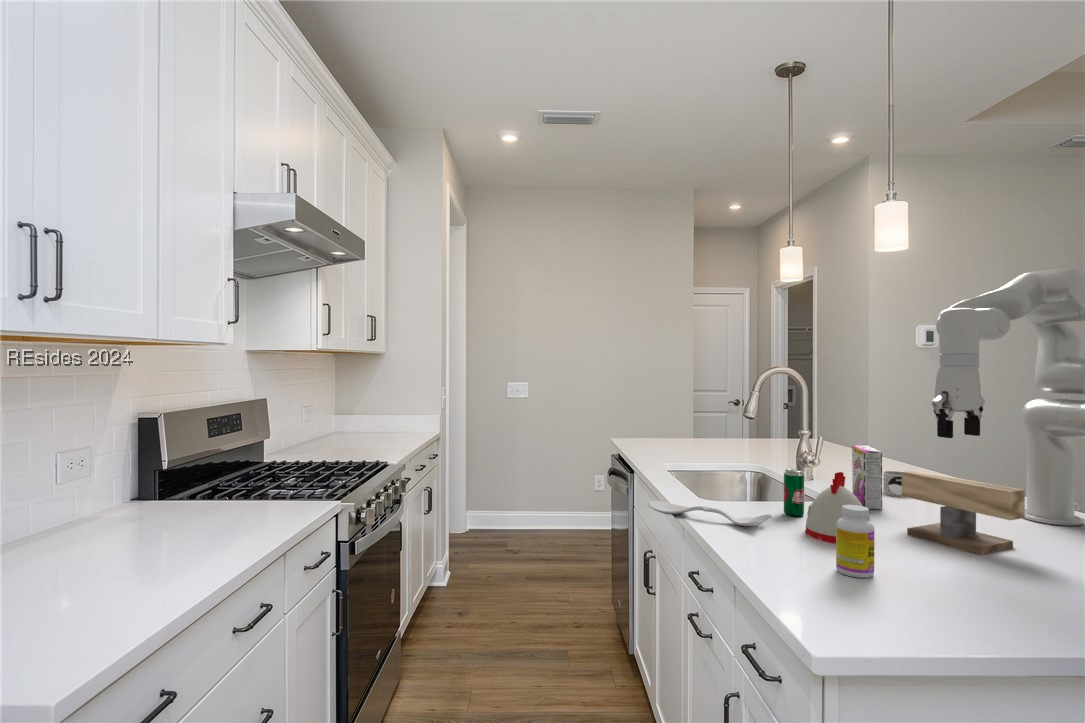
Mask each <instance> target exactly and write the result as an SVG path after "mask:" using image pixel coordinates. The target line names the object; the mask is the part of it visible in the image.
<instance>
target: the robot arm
mask: <svg viewBox="0 0 1085 723" xmlns="http://www.w3.org/2000/svg"><path fill="white" fill-rule="evenodd" d="M1024 317H1026V319H1027V321H1028V322H1029V324H1030V326H1031V327H1032V329H1033V330H1034V332H1035V334H1036V337H1037V352H1036V361H1035V371H1034V385H1035V388H1036V389H1037V390H1038V391H1040V392H1042V393H1046V394H1051V395H1065V396H1066V395H1067V396H1068V395H1069V396H1085V357H1081V346H1082V341H1081V340H1082V339H1081V338H1080V336H1079V335H1078V334H1077V332H1076V331H1075V330H1074V329H1073V328H1072V327H1071V326H1070V325H1068V324H1067V323H1070V322H1071V323H1073V322H1085V273H1084V272H1082V271H1081V270H1079V269H1076V268H1071V267H1065V268H1064V267H1063V268H1056V269H1055V268H1054V269H1053V268H1052V269H1045V270H1038V271H1030V272H1026V273H1023V274H1021V275H1018V276H1017V277H1015V278H1014V279H1013V280H1010V281H1009V282H1007V283H1006V284H1005V285H1003V286H1001V287H1000V288H998V289H995V290H993V291H988V292H986V293H983V294H981V295H977V296H973V297H970V298H968V299H964V300H962V301H959V302H957V303H955V304H952V305H951V306H949V308H947V309H944V310H942V311H941V312H940V313H939V316H938V318H937V320H936V323H935V330H936V333H937V334H938V336H939V338H938V339H939V341H938V342H939V345H938V346H939V348H938V349H939V354H938V356H939V358H938V359H939V361H938V362H939V367H938V369H937V373H936V377H935V378H936V379H935V386H934V399H932V401H931V405H932V408H933V413H934V415H935V419H936V421H937V422H936V423H937V425H936V428H937V429H936V430H937V431H936V433H937V437H938V438H944V439H945V438H946V439H952V438H954V420H952V418H953V416H954V414H955V413H956V412H957V413H958V412H960V413H961V412H962V413H964V415H965V417H964V418H963V419H964V420H963V424H964V425H963V426H964V427H963V428H964V429H963V430H964V431H963V433H964V435H966V436H973V437H974V436H975V437H979V436H980V435H981V419H982V417H983V415H982V413H983V411H984V405H985V402H986V400H985V398H984V397H982V396H981V395H982V394H981V392H982V390H981V380H980V372H979V369H980V342H981V341H982V342H983V341H995V340H999V339H1001V338H1003V337H1004V336H1006V335H1008V332H1009V331H1010V330H1011V322H1013V321H1017V320H1019V319H1022V318H1024ZM1021 412H1022V413H1021V415H1022V416H1021V418H1022V422H1023V423H1022V424H1023V427H1024V431H1025V437H1026V438H1025V439H1026V508H1025V518H1024V519H1026V520H1029V521H1032V522H1036V523H1042V524H1049V525H1056V526H1057V525H1058V526H1069V527H1070V526H1080V525H1083V518H1081V517H1080V516H1078V515H1075V511H1078V510H1080V508H1081V506H1080V504H1079V503H1077V502H1076V501H1075V499H1076V498H1075V495H1076V493H1075V489H1076V488H1075V485H1076V482H1075V481H1076V480H1075V479H1076V478H1075V476H1076V474H1075V470H1076V468H1075V467H1076V465H1075V464H1076V462H1075V461H1076V456H1075V452H1074V450H1073V448H1072V445H1070V444H1069V443H1068V441H1067V440H1066V438H1079V439H1085V399H1084V400H1082V399H1068V398H1067V399H1066V398H1047V397H1046V398H1045V397H1044V398H1043V397H1041V398H1035V399H1033V400H1029V401H1028V402H1026V403H1025V404H1024V406H1023V407H1022V411H1021Z"/></svg>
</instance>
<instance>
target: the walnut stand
mask: <svg viewBox="0 0 1085 723" xmlns="http://www.w3.org/2000/svg"><path fill="white" fill-rule="evenodd" d="M939 508H940V511H939V512H940V513H939V515H940V516H939V518H940V519H939V520H940V522H937V523H936V522H935V523H930V524H924V525H919V526H912V527H908V528H907V530H906V531H907V534H908V536H911V535H912V537H914V538H918V537H919V538H918V539H922V538H923V539H922V540H925V539H926V541H929V542H932V541H933V542H932V543H936V542H937V543H936V544H939V543H940V544H939V545H943V544H944V545H943V546H946V545H947V547H950V546H951V548H954V547H955V548H954V549H957V548H959V549H958V550H961V549H963V550H962V551H964V550H966V551H965V552H968V551H969V552H968V553H971V552H973V553H972V554H975V553H976V554H975V555H978V554H981V555H984V554H983V553H985V554H989V553H988V552H990V553H994V551H995V552H999V551H998V550H1000V551H1004V550H1009V549H1013V548H1014V540H1010V539H1006V538H1002V537H999V536H995V535H991V534H986V533H982V532H978V531H977V513H975V512H970V511H966V510H962V509H957V508H953V507H948V506H944V505H942V506H939ZM1008 548H1009V549H1008ZM1003 549H1004V550H1003Z"/></svg>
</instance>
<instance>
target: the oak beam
mask: <svg viewBox="0 0 1085 723" xmlns="http://www.w3.org/2000/svg"><path fill="white" fill-rule="evenodd" d="M901 472H902V496H903V498H907V499H908V498H909V499H911V500H912V499H913V500H918V501H923V502H925V503H930V504H935V505H940V506H948V507H953V508H957V509H962V510H966V511H970V512H975V513H976V514H980V515H985V516H989V517H994V518H999V519H1001V520H1002V519H1003V520H1006V521H1015V520H1022V519H1025V509H1026V508H1025V507H1026V505H1025V504H1026V499H1025V498H1026V490H1025V489H1021V488H1016V487H1011V486H1006V485H999V484H994V483H987V482H982V481H977V480H971V479H965V478H960V477H954V476H948V475H943V474H938V473H931V472H927V471H921V470H910V471H909V470H908V471H901Z"/></svg>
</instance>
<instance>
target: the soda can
mask: <svg viewBox="0 0 1085 723" xmlns="http://www.w3.org/2000/svg"><path fill="white" fill-rule="evenodd" d="M783 513H784V515H786V516H788V517H792V518H801V517H803V516H804V515H805V474H804V473H803V470H801V469H796V468H795V469H794V468H787V469H785V472H784V473H783Z"/></svg>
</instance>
